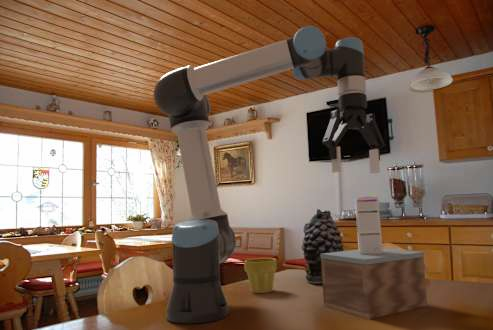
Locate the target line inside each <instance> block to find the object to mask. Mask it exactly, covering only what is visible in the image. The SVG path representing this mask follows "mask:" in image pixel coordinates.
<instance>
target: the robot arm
mask: <svg viewBox="0 0 493 330" xmlns="http://www.w3.org/2000/svg"><path fill="white" fill-rule="evenodd" d="M325 38H326V37H325V36H324V33H323V31H322V30H321V29H320V28H318V26H317V27H316V26H313V25H306V26H303V27H301V28H299V30H297V32H296V33H295V34H294V36H293V37H290V38H286V39H284V40H281V41H277V42H274V43H270V44H268V45H264V46H261V47H258V48H254V49H251V50H248V51H245V52H241V53H238V54H236V55H232V56H228V57H226V58H225V57H224V58H222V59H219V60H216V61H213V62H210V63H206V64H203V65H200V66H197V67H194V66H193V65H187V66H183V67H179V68H177V69H174V70H172V71H169V72H167V73H166V74H164V75H162V77H160V78H159V80H158V81H157V82H156V84H155V85H154V89H153V100H154V103H155V105H156V107H157V108H158V110H159V111H160V112H161V113H163V114H164V115H166V116H168V121H169V127H170V130H171V131H170V132H171V133H173V134H175V135H176V136H177V142H178V145H179V146H178V147H179V152H180V157H181V164H182V168H183V173H184V179H185V185H186V191H187V196H188V201H189V206H190V213H191V215H190V216H189V219H188V220H187V221H186V220H185V221H182V222H179V223H176V224H175V225H173V228H172V236H171V247H172V276H173V277H172V279H173V280H172V283H173V284H172V289H171V292H170V295H169V300H168V301H167V306H166V319H167V321H169V322H172V323H176V324H203V323H210V322H215V321H219V320H222V319H224V318H226V317H227V316H228V314H229V312H228V310H229V308H228V302H227V298H226V297H225V293H224V291H223V288H222V286H221V281H220V280H221V279H220V278H221V277H220V265H221V264H223V263H225V262H226V261H227V260H228V259H230V258H231V256H232V255H233V254H234V252H235V250H236V246H237V236H236V233H235V231H234V230H233V228H232V226H230V222H229V216H228V213H227V212H226V211H224V210H223V209H222V207H221V203H220V197H219V196H220V195H219V192H218V187H217V182H216V176H215V171H214V166H213V161H212V156H211V152H210V146H209V144H210V143H209V139H208V136H207V135H208V134H207V130H208V128H209V127H210V118H209V115H210V113H211V104H210V101H209V98H208V97H207V95H210V94H213V93H216V92H219V91H223V90H226V89H230V88H233V87H238V86H241V85H243V84H247V83H251V82H254V81H257V80H260V79H263V78H267V77H270V76H273V75H277V74H280V73H283V72H286V71H289V70H292V71H293V77H294V79H296V80H307V81H308V80H313V79H322V78H331V77H332V78H333V77H337V78H336V79H337V80H336V81H337V94H338V96H339V97H338V98H337V99H338V100H337V102H338V104H337V105H338V109H335V110H332V111H330V119H329V123H328V126H327V129H326V131H325V134H324V136H323V139H322V141H321V142H322V145H324V146H325V147H326V148H327V149H328V150H329V159H330V160H331V172H332V173H340V172H341V173H342V158H341V146H338V145H339V144H340V141H341V140H342V138H343V137H344V135H345V134H346V132H347V131H348V130H351V129H352V130H354V131H355V130H356V131H358V132H359V133H360V134H361V136H362V138H364V140H365V142H366V143H367V145H368V147H370V149H369V151H368V152H369V153H368V154H369V156H368V158H369V171H370V172H369V173H370V174H377V173H380V172H381V170H380V161H381V153H380V151H381V150H380V149H383V148H384V147H386V143H385V141H384V138H383V135H382V133H381V132H380V131H381V130H380V129H379V126H378V124H377V122H376V115H375V113H369V114H367V113H366V109H367V107H368V101H367V100H368V99H367V98H368V97H367V94H366V93H367V82H366V70H365V69H366V64H365V61H366V60H365V52H364V44H363V41H362V40H361V39H360V38H358V37H354V36H353V37H351V36H350V37H348V36H347V37H344V38H341V39H338V40H337V41H336V43H335V46H334V48H330V49H329V48H328V49H327V41H326V39H325ZM340 120H341V122H340Z"/></svg>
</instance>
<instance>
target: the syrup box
mask: <svg viewBox="0 0 493 330" xmlns="http://www.w3.org/2000/svg"><path fill="white" fill-rule="evenodd" d="M379 205H380V204H379V197H378V196H364V197H362V196H361V197H358V198H354V206H355V208H354V209H355V220H356V232H357V233H356V235H357V244H358V245H357V246H358V250H359V252H360V254H383V248H384V247H383V238H382V236H383V235H382V226H381V225H382V224H381V217H380V216H381V215H380V206H379Z"/></svg>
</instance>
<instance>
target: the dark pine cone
mask: <svg viewBox="0 0 493 330" xmlns="http://www.w3.org/2000/svg"><path fill="white" fill-rule="evenodd" d="M313 215H314V216H312V217H310V220H309V221H308V223H304V227H303V233H304V237H303V239H302V244H301V250H303V251H302V252H303V253H302V254H303V259H305V263H306V264H305V265H304V271H305V273H306V275H305V279H306V281H307V283H309V284H310V283H312V284H323V281H322V264H321V259H322V258H321V257H320V254H323V253H332V252H341V251H346V250H345V249H344V246H345V244H344V243H343V242H342V241H343V236H341V234H342V232H341V231H340V230H339V226H338V223H336V222H335V221H334V219H333V217H332V213H331V211H330V210H324V211H322V209H319V208H318V209H316V214H313Z"/></svg>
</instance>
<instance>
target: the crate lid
mask: <svg viewBox="0 0 493 330" xmlns="http://www.w3.org/2000/svg"><path fill="white" fill-rule="evenodd" d="M382 248H383V254H360V252H359V249H353V250H345V251H341V252H332V253H323V254H320V257H321V258H322V259H328V260H335V261H342V262H349V263H356V264H363V265H368V264H375V263H383V262H390V261H397V260H405V259H412V258H420V257H424V258H425V257H426V256H425V251H416V250H415V251H414V250H406V249H395V248H386V247H385V248H384V247H382Z"/></svg>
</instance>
